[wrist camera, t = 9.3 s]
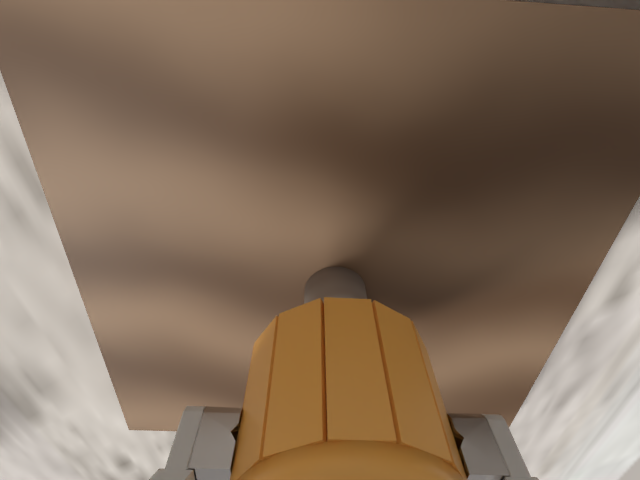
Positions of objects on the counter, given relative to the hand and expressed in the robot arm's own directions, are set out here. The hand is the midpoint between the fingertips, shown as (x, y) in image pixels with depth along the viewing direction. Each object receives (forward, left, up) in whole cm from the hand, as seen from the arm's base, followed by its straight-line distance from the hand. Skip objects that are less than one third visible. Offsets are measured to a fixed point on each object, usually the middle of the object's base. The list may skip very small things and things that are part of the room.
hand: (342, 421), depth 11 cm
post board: (0, 0, -7) cm, 7 cm away
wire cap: (0, 0, -2) cm, 2 cm away
